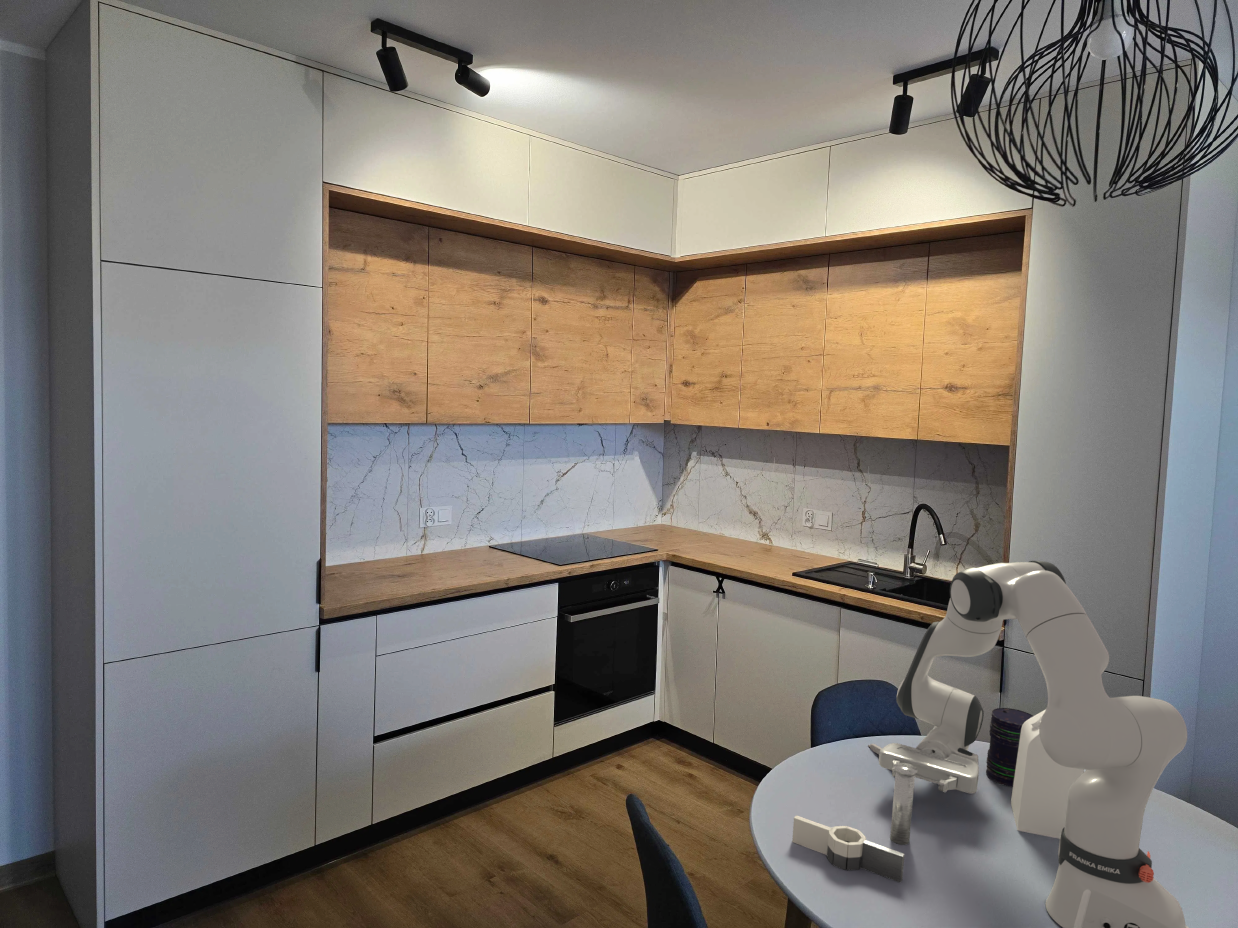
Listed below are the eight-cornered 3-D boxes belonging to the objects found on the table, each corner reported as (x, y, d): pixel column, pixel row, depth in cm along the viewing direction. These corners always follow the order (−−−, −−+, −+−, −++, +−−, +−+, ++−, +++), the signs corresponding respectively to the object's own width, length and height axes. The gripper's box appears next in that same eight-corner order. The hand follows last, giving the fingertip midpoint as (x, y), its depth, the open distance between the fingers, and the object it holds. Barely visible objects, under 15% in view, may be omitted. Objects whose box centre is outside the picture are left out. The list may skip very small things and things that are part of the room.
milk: (1079, 842, 169) (1093, 718, 167) (1017, 830, 173) (1029, 708, 170) (1069, 814, 181) (1081, 697, 178) (1010, 802, 184) (1022, 688, 182)
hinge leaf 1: (867, 858, 160) (869, 833, 160) (856, 874, 155) (858, 848, 154) (799, 833, 168) (801, 809, 167) (786, 847, 163) (788, 822, 162)
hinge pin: (914, 838, 168) (920, 766, 166) (907, 848, 164) (913, 775, 163) (891, 831, 170) (897, 760, 169) (885, 840, 167) (891, 768, 165)
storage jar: (1041, 784, 194) (1048, 722, 192) (1009, 790, 190) (1015, 727, 188) (1007, 765, 203) (1013, 705, 201) (975, 770, 199) (981, 709, 198)
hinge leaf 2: (906, 872, 156) (908, 847, 155) (895, 889, 151) (898, 863, 150) (835, 846, 164) (837, 822, 163) (822, 861, 159) (824, 836, 158)
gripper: (890, 730, 192) (870, 751, 180) (986, 757, 180) (970, 780, 169) (888, 757, 192) (867, 779, 181) (983, 785, 181) (968, 810, 169)
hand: (918, 780), depth 175 cm, fingers open, 8 cm apart
